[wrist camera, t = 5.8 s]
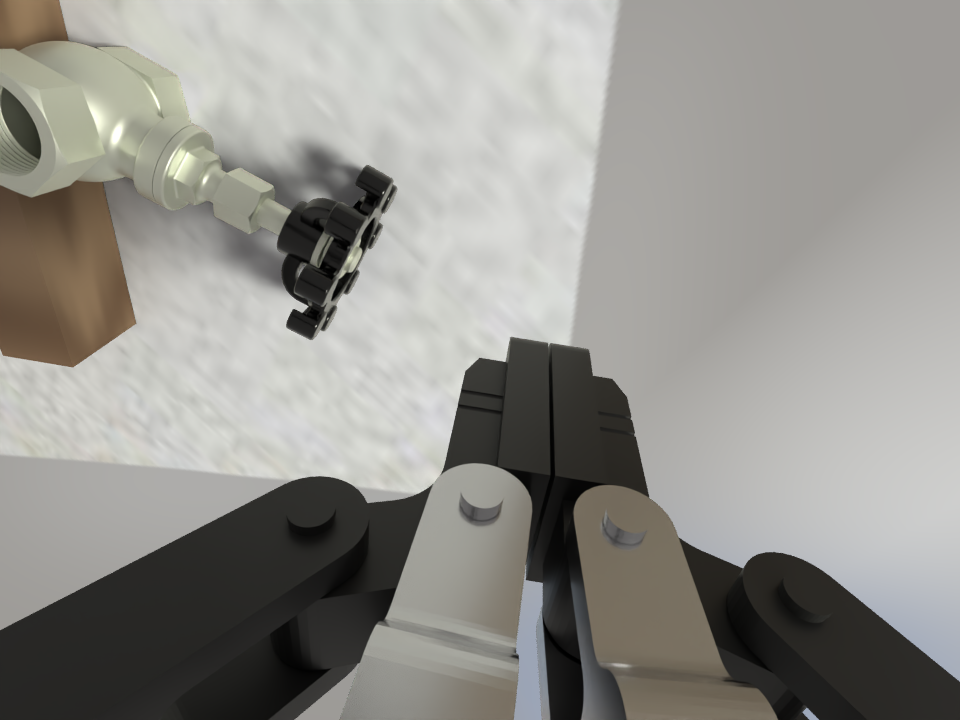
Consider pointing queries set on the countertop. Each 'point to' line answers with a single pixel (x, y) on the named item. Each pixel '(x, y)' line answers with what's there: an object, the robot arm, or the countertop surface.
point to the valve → (170, 162)
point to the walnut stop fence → (56, 244)
